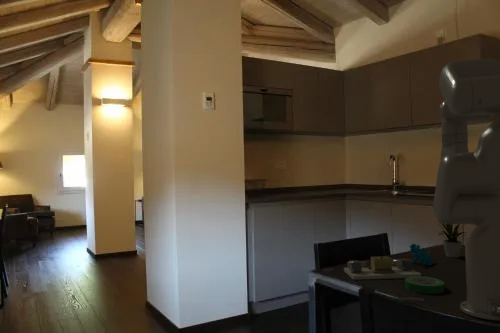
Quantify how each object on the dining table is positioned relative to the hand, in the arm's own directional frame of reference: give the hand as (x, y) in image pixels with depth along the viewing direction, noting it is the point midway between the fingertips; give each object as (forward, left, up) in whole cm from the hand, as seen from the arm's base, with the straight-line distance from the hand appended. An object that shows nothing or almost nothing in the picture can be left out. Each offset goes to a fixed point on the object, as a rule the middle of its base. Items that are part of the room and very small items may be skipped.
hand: (456, 193), depth 130 cm
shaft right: (+13, +13, -27) cm, 33 cm away
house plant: (+38, -17, -28) cm, 50 cm away
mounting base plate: (+12, +21, -28) cm, 37 cm away
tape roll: (-6, +14, -29) cm, 33 cm away
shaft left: (+12, +29, -27) cm, 41 cm away
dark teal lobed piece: (+25, 0, -29) cm, 38 cm away
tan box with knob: (+12, +21, -27) cm, 36 cm away
